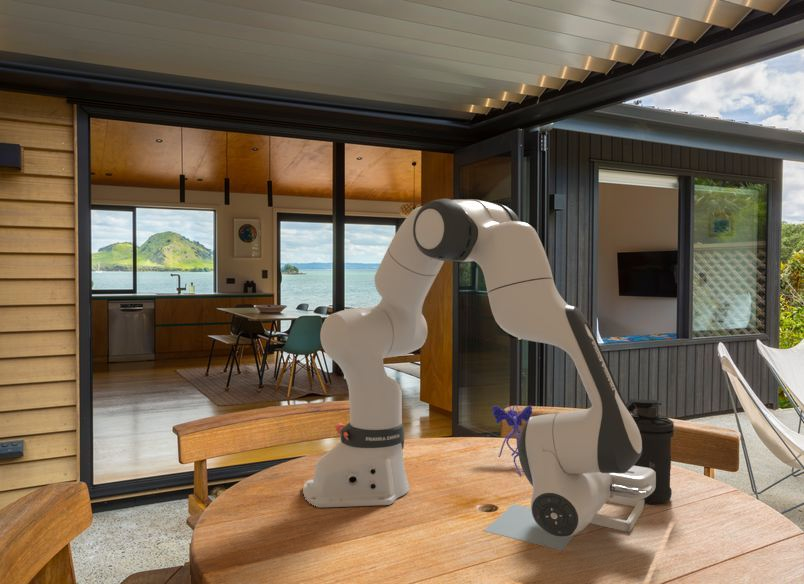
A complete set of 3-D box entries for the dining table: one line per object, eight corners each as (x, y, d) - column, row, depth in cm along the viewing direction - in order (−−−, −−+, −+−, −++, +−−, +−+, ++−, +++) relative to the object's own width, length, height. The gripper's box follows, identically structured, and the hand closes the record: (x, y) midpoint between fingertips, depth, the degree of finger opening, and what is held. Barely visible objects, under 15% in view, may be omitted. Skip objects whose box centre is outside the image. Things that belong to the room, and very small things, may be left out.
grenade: (676, 507, 120) (679, 407, 119) (618, 503, 122) (620, 404, 121) (666, 490, 129) (668, 397, 128) (612, 486, 131) (613, 395, 130)
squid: (488, 506, 146) (497, 461, 134) (471, 394, 173) (477, 348, 161) (547, 505, 146) (562, 460, 135) (521, 393, 173) (531, 348, 162)
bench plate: (562, 559, 99) (562, 550, 99) (483, 538, 106) (483, 530, 106) (585, 528, 111) (586, 520, 110) (513, 511, 118) (513, 503, 118)
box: (629, 540, 106) (630, 523, 105) (556, 523, 113) (556, 507, 112) (644, 514, 117) (644, 499, 116) (576, 500, 124) (576, 486, 123)
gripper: (649, 476, 97) (663, 454, 109) (527, 455, 108) (552, 437, 120) (648, 515, 98) (663, 488, 109) (527, 490, 108) (552, 468, 120)
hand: (604, 461), depth 115 cm, fingers closed on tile, 4 cm apart
